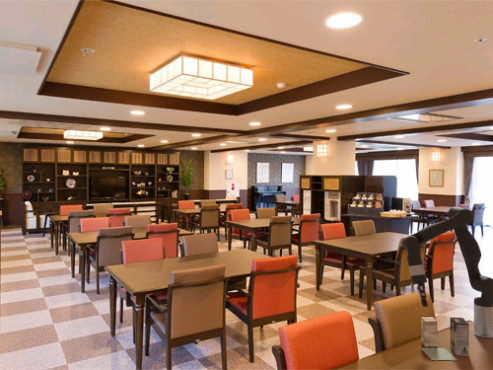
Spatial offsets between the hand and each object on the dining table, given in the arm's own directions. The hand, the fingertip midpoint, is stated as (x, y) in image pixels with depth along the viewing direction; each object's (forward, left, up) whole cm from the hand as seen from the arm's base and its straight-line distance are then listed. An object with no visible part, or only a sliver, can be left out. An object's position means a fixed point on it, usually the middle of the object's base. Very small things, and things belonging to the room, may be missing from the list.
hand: (425, 305), depth 195 cm
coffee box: (+1, +16, -22) cm, 28 cm away
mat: (+6, +5, -22) cm, 23 cm away
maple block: (-4, +3, -22) cm, 23 cm away
